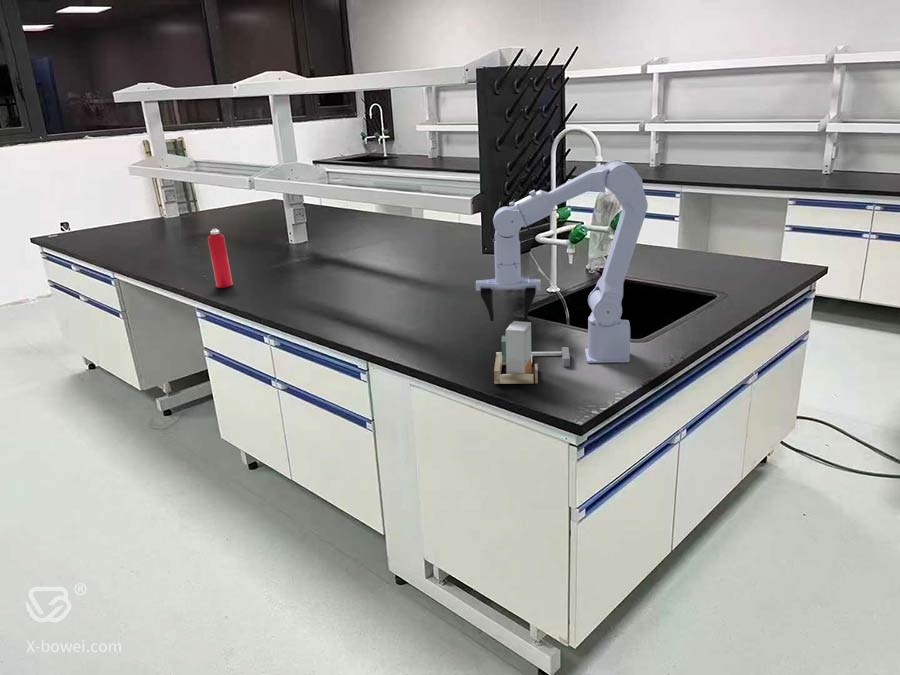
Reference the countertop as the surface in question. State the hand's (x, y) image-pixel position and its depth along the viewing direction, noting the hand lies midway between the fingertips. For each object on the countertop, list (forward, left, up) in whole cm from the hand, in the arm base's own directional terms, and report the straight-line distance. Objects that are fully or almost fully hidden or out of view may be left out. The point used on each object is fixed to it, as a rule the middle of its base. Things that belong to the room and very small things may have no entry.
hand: (508, 319), depth 155 cm
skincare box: (-2, +9, -10) cm, 14 cm away
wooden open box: (-2, +6, -10) cm, 12 cm away
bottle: (+101, -69, -10) cm, 123 cm away
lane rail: (-5, +1, -10) cm, 11 cm away
